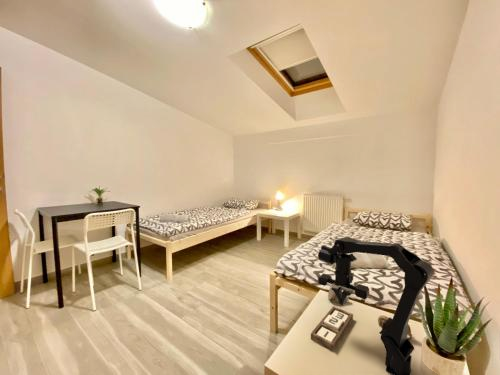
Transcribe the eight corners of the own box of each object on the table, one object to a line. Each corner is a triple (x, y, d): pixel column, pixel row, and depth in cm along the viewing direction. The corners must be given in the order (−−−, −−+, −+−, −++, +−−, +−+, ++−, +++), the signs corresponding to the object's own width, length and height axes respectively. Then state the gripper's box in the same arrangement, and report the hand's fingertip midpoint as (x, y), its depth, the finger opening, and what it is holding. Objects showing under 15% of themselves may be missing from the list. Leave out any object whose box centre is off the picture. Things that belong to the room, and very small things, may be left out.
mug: (351, 306, 109) (343, 291, 107) (333, 310, 112) (324, 295, 111) (349, 295, 116) (341, 280, 114) (331, 299, 119) (323, 285, 118)
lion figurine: (382, 342, 86) (383, 320, 85) (373, 332, 91) (374, 312, 90) (417, 340, 87) (418, 319, 86) (406, 331, 92) (407, 311, 91)
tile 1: (336, 337, 87) (336, 333, 87) (330, 346, 83) (330, 342, 83) (321, 330, 91) (322, 326, 91) (315, 338, 87) (315, 334, 87)
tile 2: (342, 323, 93) (343, 320, 93) (337, 331, 89) (338, 327, 88) (329, 317, 97) (329, 314, 97) (323, 324, 93) (323, 320, 92)
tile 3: (348, 318, 99) (348, 315, 99) (343, 325, 94) (344, 321, 94) (335, 312, 103) (335, 309, 103) (330, 319, 98) (330, 315, 98)
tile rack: (352, 319, 99) (353, 314, 99) (333, 351, 81) (333, 345, 81) (333, 310, 105) (333, 306, 105) (310, 339, 87) (310, 333, 87)
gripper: (372, 268, 89) (371, 304, 90) (327, 256, 100) (326, 289, 101) (366, 278, 80) (365, 318, 81) (317, 264, 92) (316, 300, 93)
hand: (341, 305), depth 89 cm, fingers closed
